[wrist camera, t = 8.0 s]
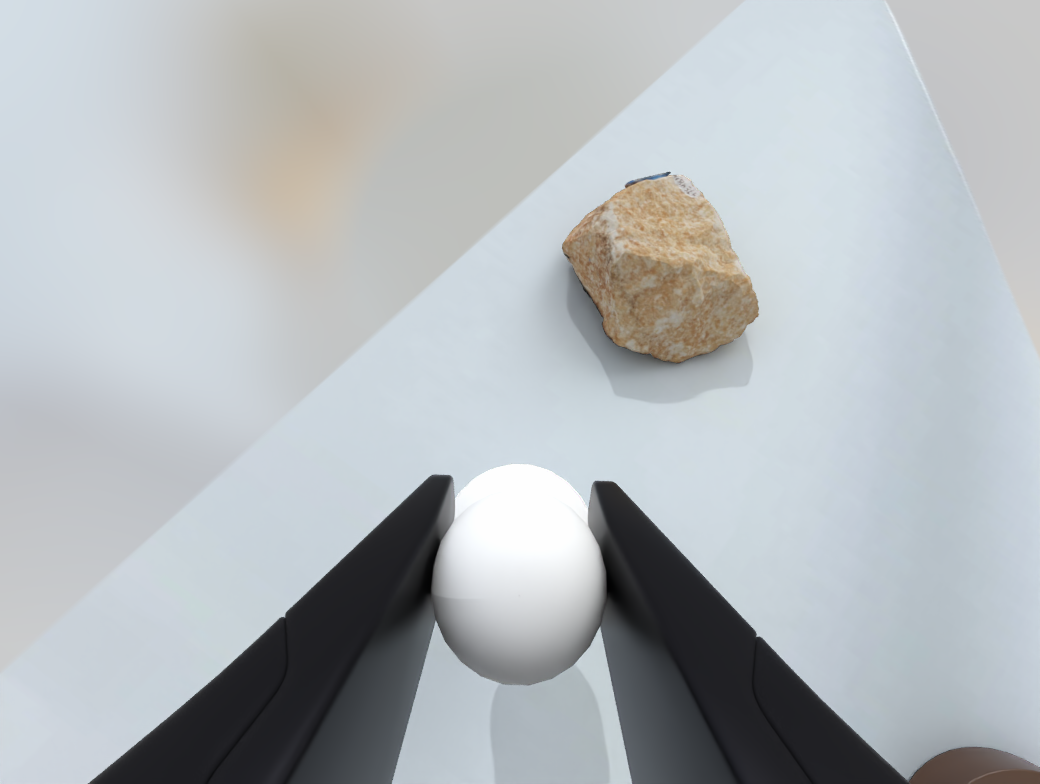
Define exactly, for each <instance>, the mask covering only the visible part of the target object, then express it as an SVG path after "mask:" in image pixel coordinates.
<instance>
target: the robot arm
mask: <svg viewBox="0 0 1040 784" xmlns="http://www.w3.org/2000/svg"><path fill="white" fill-rule="evenodd" d="M454 517H455V497H454V482H453V478H452V476H450V475H432V476H430V477H429V478H428V479H427V480H425V481H424V482H423V483H422V484H421V485H420V486H419V487H418V488H417V489H416V490H415V491H414V492H413V493H412V494H411V495H410V496H409V497H408V498H406V499H405V500H404V501H403V502H402V503H401V504H400V505H399V506H398V507H397V508H396V509H395V510H394V511H393V512H392V513H391V514H390V515H389V516H387V517H386V518H385V519H384V520H383V521H382V522H381V523H380V524H379V525H378V526H377V527H376V528H375V529H374V530H373V531H372V532H371V533H370V534H368V535H367V536H366V537H365V538H364V539H363V540H362V541H361V542H360V543H359V544H358V545H357V546H356V547H355V548H354V549H353V550H352V551H351V552H349V553H348V554H347V555H346V556H345V557H344V558H343V559H342V560H341V561H340V562H339V563H338V564H337V565H336V566H335V567H334V568H333V569H331V570H330V571H329V572H328V573H327V574H326V575H325V576H324V577H323V578H322V579H321V580H320V581H319V582H318V583H317V584H316V585H315V586H314V587H312V588H311V589H310V590H309V591H308V592H307V593H306V594H305V595H304V596H303V597H302V598H301V599H300V600H299V601H298V602H297V603H296V604H295V605H293V606H292V607H291V608H290V609H289V610H288V611H287V612H286V614H285V617H281V618H279V619H278V620H277V621H276V622H275V623H274V624H273V625H272V626H271V627H270V628H269V629H268V630H267V631H266V632H265V633H264V634H263V635H262V636H260V637H259V638H258V639H257V640H256V641H255V642H254V643H253V644H252V645H251V646H250V647H248V648H247V649H246V650H245V651H244V652H243V653H242V654H241V655H240V656H239V657H238V658H236V659H235V660H234V661H233V662H232V663H231V664H230V665H229V666H228V667H227V668H225V669H224V670H223V671H222V672H221V673H220V674H219V675H218V676H217V677H215V678H214V679H213V680H212V681H211V682H210V683H208V684H207V685H206V686H205V687H204V688H202V689H201V690H200V691H199V692H198V693H197V694H195V695H194V696H193V697H192V698H191V699H190V700H188V701H187V702H186V703H185V704H184V705H182V706H181V707H180V708H179V709H178V710H177V711H175V712H174V713H173V714H172V715H171V716H170V717H168V718H167V719H166V720H165V721H164V722H162V723H161V724H160V725H159V726H157V727H156V728H155V729H154V730H153V731H151V732H150V733H149V734H148V735H147V736H145V737H144V738H143V739H142V740H141V741H139V742H138V743H137V744H136V745H134V746H133V747H132V748H131V749H130V750H128V751H127V752H126V753H125V754H124V755H122V756H121V757H120V758H119V759H118V760H116V761H115V762H114V763H113V764H111V765H110V766H109V767H108V768H107V769H105V770H104V771H103V772H102V773H101V774H99V775H98V776H97V777H96V778H95V779H93V780H92V781H91V782H90V783H88V784H392V780H393V776H394V773H395V769H396V765H397V761H398V758H399V754H400V750H401V747H402V743H403V739H404V735H405V732H406V728H407V724H408V721H409V717H410V713H411V710H412V706H413V702H414V698H415V695H416V691H417V687H418V684H419V680H420V676H421V672H422V669H423V665H424V661H425V658H426V654H427V650H428V647H429V643H430V639H431V635H432V632H433V628H434V624H435V621H436V618H435V616H434V609H433V602H432V596H431V582H432V571H433V564H434V561H435V558H436V555H437V552H438V549H439V546H440V543H441V540H442V539H443V537H444V536H445V534H446V532H447V531H448V529H449V528H450V526H451V525H452V523H453V521H454ZM588 527H589V528H590V530H591V532H592V534H593V536H594V537H595V539H596V541H597V543H598V545H599V547H600V550H601V554H602V558H603V561H604V565H605V569H606V581H607V599H606V604H605V609H604V613H603V618H602V622H601V625H600V627H601V632H602V637H603V642H604V647H605V652H606V657H607V662H608V667H609V672H610V676H611V681H612V686H613V691H614V696H615V701H616V706H617V711H618V716H619V721H620V725H621V730H622V735H623V740H624V745H625V750H626V755H627V760H628V765H629V770H630V774H631V779H632V784H910V783H909V782H908V781H907V780H906V779H905V778H904V777H903V776H902V775H900V774H899V773H898V772H897V771H896V770H895V769H894V768H893V767H892V766H891V765H890V764H889V763H888V762H887V761H885V760H884V759H883V758H882V757H881V756H880V755H879V754H878V753H877V752H876V751H875V750H874V749H873V748H871V747H870V746H869V745H868V744H867V743H866V742H865V741H864V740H863V739H862V738H861V737H860V736H859V735H858V734H857V733H856V732H855V731H854V730H853V729H852V728H851V727H850V726H849V725H847V724H846V723H845V722H844V721H843V720H842V719H841V718H840V717H839V716H838V715H837V714H836V713H835V712H834V711H833V710H832V709H831V708H830V707H829V706H828V705H827V704H826V703H825V702H823V701H822V700H821V699H820V698H819V697H818V695H817V694H816V693H815V692H814V691H813V690H812V689H811V688H810V687H809V686H808V685H807V684H806V683H805V682H804V681H803V680H802V679H801V678H800V677H799V676H798V675H797V674H796V673H795V672H794V671H793V670H792V669H791V668H790V667H789V666H788V665H787V664H786V663H785V662H784V661H783V660H782V659H781V658H780V656H779V655H778V654H777V653H776V652H775V651H774V650H773V649H772V648H771V647H770V646H769V645H768V644H767V643H766V642H765V641H764V640H763V638H761V637H756V635H757V634H756V631H755V630H754V629H753V628H752V627H751V626H750V625H749V624H748V623H747V622H746V621H745V620H744V619H743V618H742V616H741V615H740V614H739V613H738V612H737V611H736V610H735V609H734V608H733V607H732V606H731V605H730V604H729V603H728V602H727V601H726V600H725V598H724V597H723V596H722V595H721V594H720V593H719V592H718V591H717V590H716V589H715V588H714V587H713V586H712V585H711V584H710V583H709V581H708V580H707V579H706V578H705V577H704V576H703V575H702V574H701V573H700V572H699V571H698V570H697V569H696V568H695V567H694V566H693V565H692V563H691V562H690V561H689V560H688V559H687V558H686V557H685V556H684V555H683V554H682V553H681V552H680V551H679V550H678V549H677V548H676V547H675V545H674V544H673V543H672V542H671V541H670V540H669V539H668V538H667V537H666V536H665V535H664V534H663V533H662V532H661V531H660V530H659V528H658V527H657V526H656V525H655V524H654V523H653V522H652V521H651V520H650V519H649V518H648V517H647V516H646V515H645V514H644V513H643V512H642V510H641V509H640V508H639V507H638V506H637V505H636V504H635V503H634V502H633V501H632V500H631V499H630V498H629V497H628V496H627V495H626V493H625V492H624V491H623V490H622V489H621V488H620V487H619V486H618V485H617V484H616V483H614V482H611V481H595V482H594V483H593V485H592V489H591V496H590V502H589V508H588Z"/></svg>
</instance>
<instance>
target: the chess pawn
mask: <svg viewBox="0 0 1040 784" xmlns="http://www.w3.org/2000/svg"><path fill="white" fill-rule="evenodd" d="M431 596H432V602H433V609H434V616H435V618H436V621H437V623H438V626H439V628H440V630H441V633H442V635H443V638H444V640H445V642H446V643H447V644H448V646H449V647H450V648H451V650H452V651H453V652H454V653H455V655H456V656H457V657H458V659H459V660H460V661H461V662H462V663H464V664H465V665H466V666H468V667H469V668H470V669H472V670H473V671H474V672H476V673H477V674H478V675H480V676H482V677H484V678H487V679H490V680H493V681H496V682H499V683H501V684H506V685H531V684H535V683H538V682H542V681H546V680H549V679H552V678H554V677H555V676H557V675H559V674H560V673H562V672H563V671H565V670H566V669H568V668H570V667H571V666H573V665H574V664H575V663H576V661H577V660H578V659H579V658H580V657H581V656H582V655H583V653H584V652H585V651H586V650H587V649H588V648H589V647H590V645H591V643H592V641H593V639H594V637H595V635H596V633H597V631H598V629H599V627H600V625H601V622H602V618H603V613H604V609H605V604H606V599H607V581H606V569H605V565H604V561H603V558H602V554H601V550H600V547H599V545H598V543H597V541H596V539H595V537H594V536H593V534H592V532H591V530H590V528H589V527H588V508H587V506H586V505H585V503H584V501H583V499H582V497H581V496H580V495H579V494H578V493H577V491H576V490H575V489H574V488H573V487H572V486H571V485H570V484H569V483H568V482H567V481H566V480H564V479H563V478H561V477H559V476H558V475H556V474H555V473H553V472H551V471H550V470H547V469H543V468H540V467H537V466H534V465H526V464H509V465H505V466H501V467H497V468H492V469H491V470H489V471H487V472H485V473H483V474H481V475H479V476H477V477H476V478H474V479H473V480H472V481H471V482H470V483H469V484H468V485H467V486H466V487H465V488H463V489H462V490H461V491H460V492H459V494H458V495H457V497H456V499H455V517H454V521H453V523H452V525H451V526H450V528H449V529H448V531H447V532H446V534H445V536H444V537H443V539H442V540H441V543H440V546H439V549H438V552H437V555H436V558H435V561H434V564H433V571H432V582H431Z"/></svg>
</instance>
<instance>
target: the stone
mask: <svg viewBox="0 0 1040 784" xmlns="http://www.w3.org/2000/svg"><path fill="white" fill-rule="evenodd" d="M670 173H671V172H666V173H661V174H658V175H653V176H649V177H645V178H640V179H636V180H633V181H630V182H628V183H627V184H626V185H625V187H626V188H625V189H624V190H622V191H620V192H618V193H616V194H615V195H614V196H613V197H612V198H611V199H610V200H608V201H606V202H605V203H604V204H602V205H601V206H599V207H597V208H596V209H595V210H593V211H592V212H590V213H589V214H587V215H586V216H585V217H584V218H583V220H582V221H581V222H580V223H579V224H578V225H577V226H576V227H575V228H574V229H573V230H572V231H571V233H570V234H569V235H568V237H567V238H566V240H565V241H564V243H563V245H562V249H563V252H564V254H565V256H566V257H567V259H568V261H569V262H570V263H571V264H572V266H573V267H574V271H575V273H576V275H577V277H578V278H579V280H580V282H581V284H582V286H583V289H584V291H585V292H586V293H587V294H588V295H589V297H590V298H592V301H593V302H594V304H595V305H596V307H597V309H598V311H599V312H600V314H601V316H602V317H603V318H604V320H603V323H602V326H603V329H604V331H605V334H606V335H607V336H608V337H609V338H610V339H611V340H612V341H613V343H615V344H617V345H618V346H621V347H624V348H626V349H628V350H632V351H635V352H638V353H640V354H645V355H646V354H650V353H651V354H652V356H653V357H654V358H659V359H660V360H662V361H671V362H675V363H681V362H683V361H685V360H687V359H690V358H692V357H695V356H698V355H702V354H707V353H709V352H712V351H714V350H716V349H717V348H718V347H719V346H720V345H724V344H728V343H730V342H732V341H733V340H734V339H736V338H738V337H740V336H741V334H742V333H743V332H744V330H745V328H746V326H747V325H748V324H750V323H752V322H753V321H754V320H755V318H756V317H758V315H759V314H758V310H759V308H758V301H757V298H756V294H755V292H754V291H753V289H752V283H751V280H750V277H749V276H748V275H747V274H746V273H745V271H744V269H743V267H742V265H741V263H740V260H739V258H738V256H737V255H736V253H735V252H734V251H733V249H732V248H731V243H730V238H729V236H728V234H727V231H726V229H725V227H724V224H723V222H722V220H721V218H720V216H719V214H718V213H717V211H716V210H715V209H714V208H713V206H712V205H711V204H710V203H709V202H708V201H707V200H706V199H705V198H704V196H703V193H702V192H701V191H699V190H698V189H697V188H696V187H695V186H694V185H693V184H692V181H691V180H690V179H689V178H687V177H685V176H683V175H669V174H670ZM668 175H669V176H668Z"/></svg>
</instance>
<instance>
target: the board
mask: <svg viewBox="0 0 1040 784" xmlns="http://www.w3.org/2000/svg"><path fill="white" fill-rule="evenodd" d="M909 783H910V784H1040V767H1038V766H1036V765H1034V764H1032V763H1030V762H1028V761H1026V760H1024V759H1022V758H1020V757H1017V756H1015V755H1012V754H1010V753H1007V752H1003V751H999V750H996V749H991V748H982V747H965V748H959V749H954V750H950V751H947V752H945V753H942V754H940V755H938V756H936V757H934V758H933V759H931V760H930V761H928V762H927V763H925V764H924V765H923V766H922V767H921V768H920V769H919V770H918V771H917V772H916V773H915V774H914V776H913V777H912V778H911V780H910V781H909Z"/></svg>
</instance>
